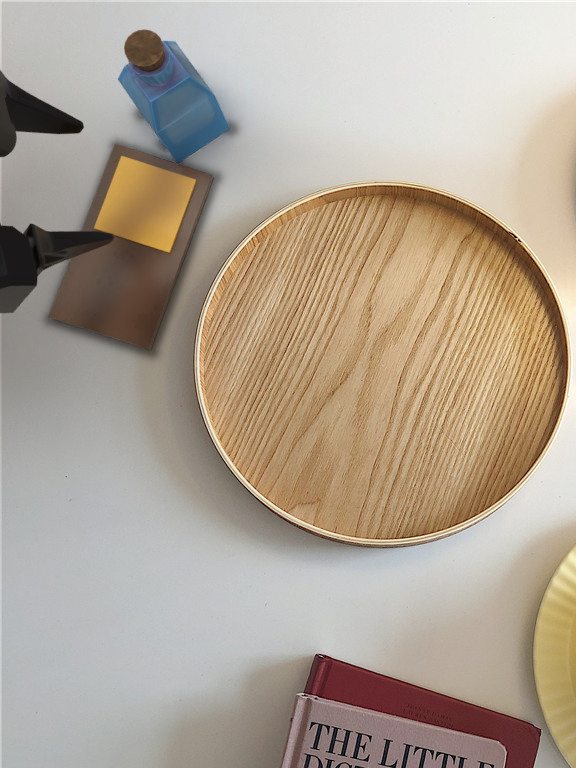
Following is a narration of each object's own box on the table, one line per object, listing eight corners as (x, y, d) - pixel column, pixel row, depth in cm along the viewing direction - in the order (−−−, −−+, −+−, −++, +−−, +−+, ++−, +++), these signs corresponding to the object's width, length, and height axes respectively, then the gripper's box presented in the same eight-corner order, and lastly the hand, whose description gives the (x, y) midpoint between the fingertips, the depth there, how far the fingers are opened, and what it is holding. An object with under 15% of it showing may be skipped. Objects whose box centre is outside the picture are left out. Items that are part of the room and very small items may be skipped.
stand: (51, 318, 66) (46, 316, 65) (116, 146, 68) (113, 141, 67) (150, 350, 66) (147, 348, 65) (214, 177, 67) (211, 173, 67)
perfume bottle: (177, 163, 68) (133, 98, 56) (141, 114, 68) (90, 39, 56) (229, 128, 68) (197, 56, 56) (194, 79, 68) (153, -3, 56)
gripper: (-96, 246, 35) (178, 253, 47) (-175, -79, 37) (108, 4, 49) (-133, 321, 43) (111, 311, 54) (-197, 48, 45) (53, 94, 56)
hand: (96, 182), depth 53 cm, fingers open, 9 cm apart
